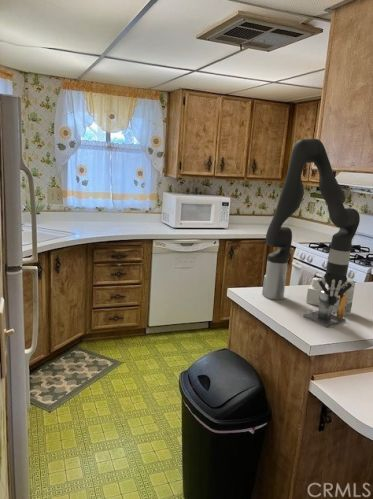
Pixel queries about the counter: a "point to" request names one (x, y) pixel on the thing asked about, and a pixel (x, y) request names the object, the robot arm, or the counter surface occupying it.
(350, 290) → the supplement can
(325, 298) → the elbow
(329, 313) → the grey stand with base
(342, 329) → the counter surface
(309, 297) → the medicine bottle
